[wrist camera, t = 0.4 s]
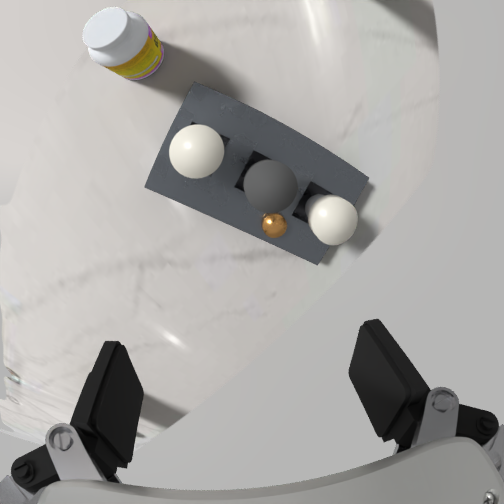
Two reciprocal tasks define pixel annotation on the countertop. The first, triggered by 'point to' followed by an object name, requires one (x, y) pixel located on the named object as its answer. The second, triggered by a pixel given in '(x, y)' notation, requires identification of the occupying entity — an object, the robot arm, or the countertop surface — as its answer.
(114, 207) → the countertop surface
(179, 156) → the knob
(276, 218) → the panel
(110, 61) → the supplement bottle
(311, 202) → the knob
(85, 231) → the countertop surface
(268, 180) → the knob middle
